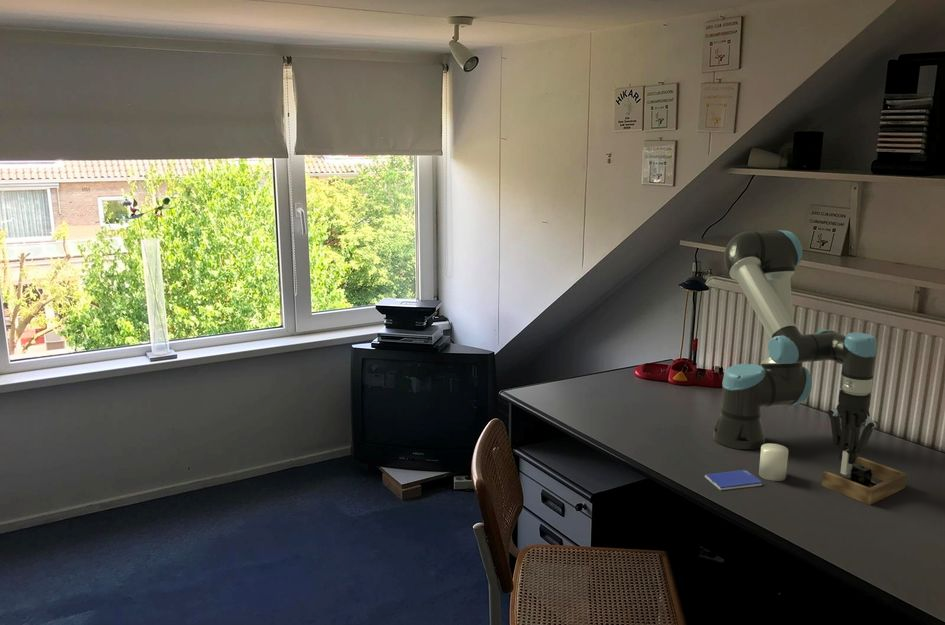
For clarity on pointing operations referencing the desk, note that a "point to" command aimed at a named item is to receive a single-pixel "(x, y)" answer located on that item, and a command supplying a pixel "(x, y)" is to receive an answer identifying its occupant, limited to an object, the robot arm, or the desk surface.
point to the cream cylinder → (773, 462)
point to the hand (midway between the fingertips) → (845, 472)
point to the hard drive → (733, 479)
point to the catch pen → (889, 486)
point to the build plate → (860, 476)
